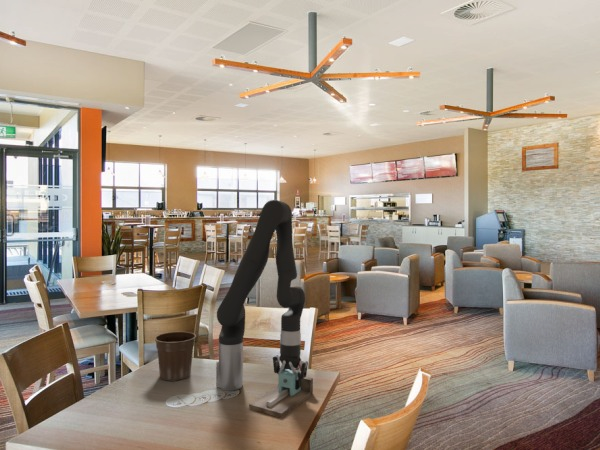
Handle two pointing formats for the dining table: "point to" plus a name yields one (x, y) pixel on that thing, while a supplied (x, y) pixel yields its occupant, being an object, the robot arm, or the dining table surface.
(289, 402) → the cleat board
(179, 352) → the plant pot
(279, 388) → the cabinet block
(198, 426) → the dining table surface
